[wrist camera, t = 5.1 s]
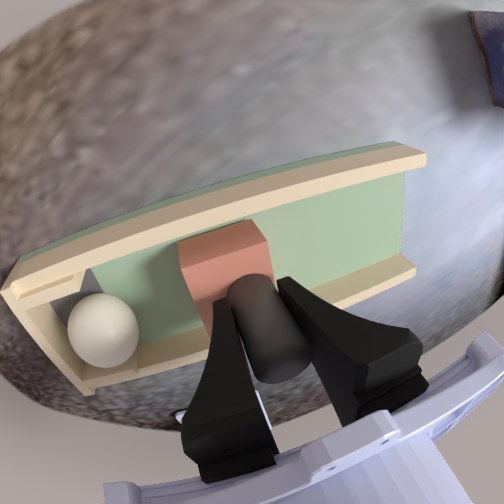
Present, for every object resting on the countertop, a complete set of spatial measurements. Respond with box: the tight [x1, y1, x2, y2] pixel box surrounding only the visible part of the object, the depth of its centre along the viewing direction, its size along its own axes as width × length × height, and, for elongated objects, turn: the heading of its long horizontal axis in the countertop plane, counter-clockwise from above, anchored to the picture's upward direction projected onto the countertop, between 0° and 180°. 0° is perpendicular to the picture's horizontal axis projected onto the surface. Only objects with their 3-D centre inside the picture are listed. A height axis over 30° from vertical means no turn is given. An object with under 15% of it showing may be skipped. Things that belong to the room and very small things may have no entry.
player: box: [177, 219, 313, 384], centre depth 14 cm, size 5×4×7 cm
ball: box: [68, 293, 139, 368], centre depth 14 cm, size 4×4×4 cm
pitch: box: [0, 141, 426, 396], centre depth 17 cm, size 9×24×4 cm, turn 101°
